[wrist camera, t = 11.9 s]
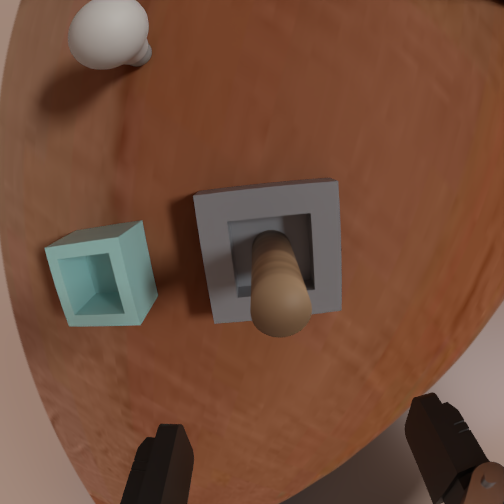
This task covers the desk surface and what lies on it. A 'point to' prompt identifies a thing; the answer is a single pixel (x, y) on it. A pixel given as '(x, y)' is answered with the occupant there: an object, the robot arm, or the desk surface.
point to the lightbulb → (110, 34)
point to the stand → (262, 219)
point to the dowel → (277, 287)
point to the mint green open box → (103, 275)
